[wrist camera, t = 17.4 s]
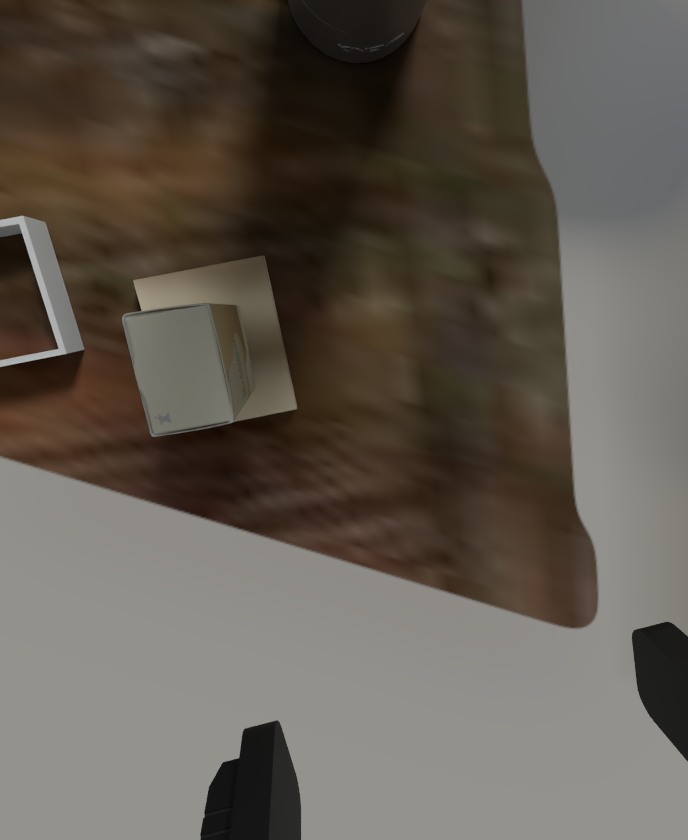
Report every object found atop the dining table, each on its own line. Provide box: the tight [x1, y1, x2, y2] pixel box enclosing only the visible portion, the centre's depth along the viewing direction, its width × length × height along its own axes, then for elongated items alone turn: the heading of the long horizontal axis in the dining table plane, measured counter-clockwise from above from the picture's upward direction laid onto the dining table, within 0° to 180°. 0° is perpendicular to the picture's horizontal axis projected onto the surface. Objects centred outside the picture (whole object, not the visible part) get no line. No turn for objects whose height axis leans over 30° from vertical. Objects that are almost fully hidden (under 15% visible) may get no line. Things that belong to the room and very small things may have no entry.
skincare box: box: [122, 303, 255, 437], centre depth 32 cm, size 6×4×12 cm
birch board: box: [133, 255, 297, 422], centre depth 38 cm, size 11×9×2 cm
